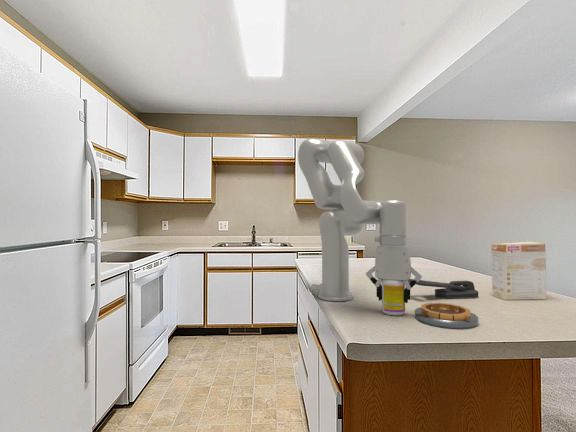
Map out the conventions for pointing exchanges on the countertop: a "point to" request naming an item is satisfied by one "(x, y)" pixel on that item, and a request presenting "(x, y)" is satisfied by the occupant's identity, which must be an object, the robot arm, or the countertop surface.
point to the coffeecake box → (518, 270)
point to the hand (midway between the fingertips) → (393, 300)
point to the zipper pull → (452, 289)
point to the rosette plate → (446, 316)
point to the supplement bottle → (393, 297)
